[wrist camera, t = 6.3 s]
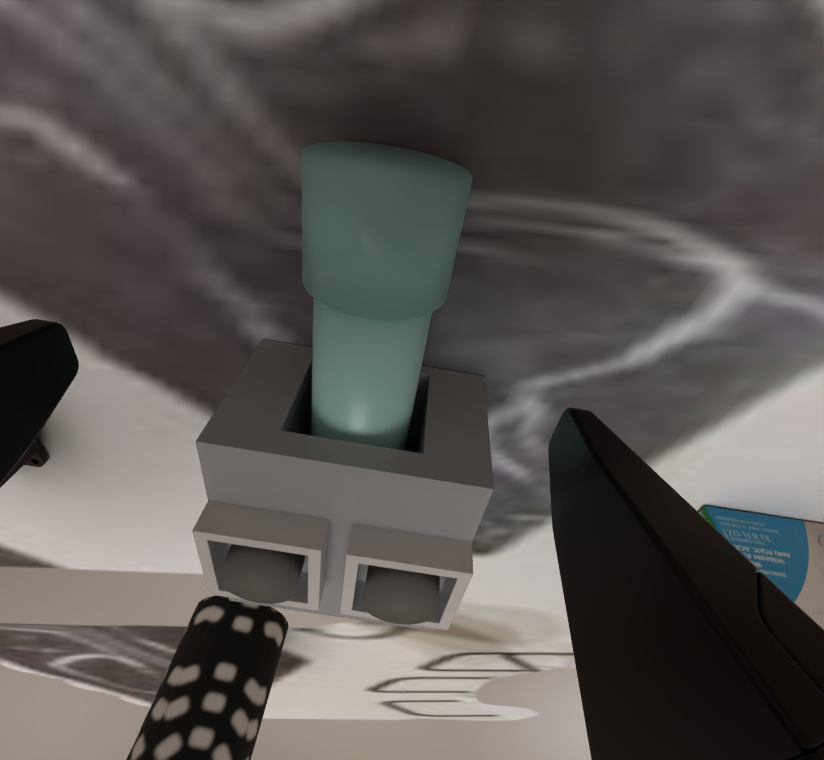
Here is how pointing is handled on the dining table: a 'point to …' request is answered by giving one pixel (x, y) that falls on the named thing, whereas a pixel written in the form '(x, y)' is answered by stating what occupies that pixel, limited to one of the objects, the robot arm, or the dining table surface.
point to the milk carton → (779, 552)
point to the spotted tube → (215, 685)
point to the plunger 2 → (401, 595)
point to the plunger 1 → (261, 574)
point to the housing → (344, 486)
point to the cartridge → (375, 279)
